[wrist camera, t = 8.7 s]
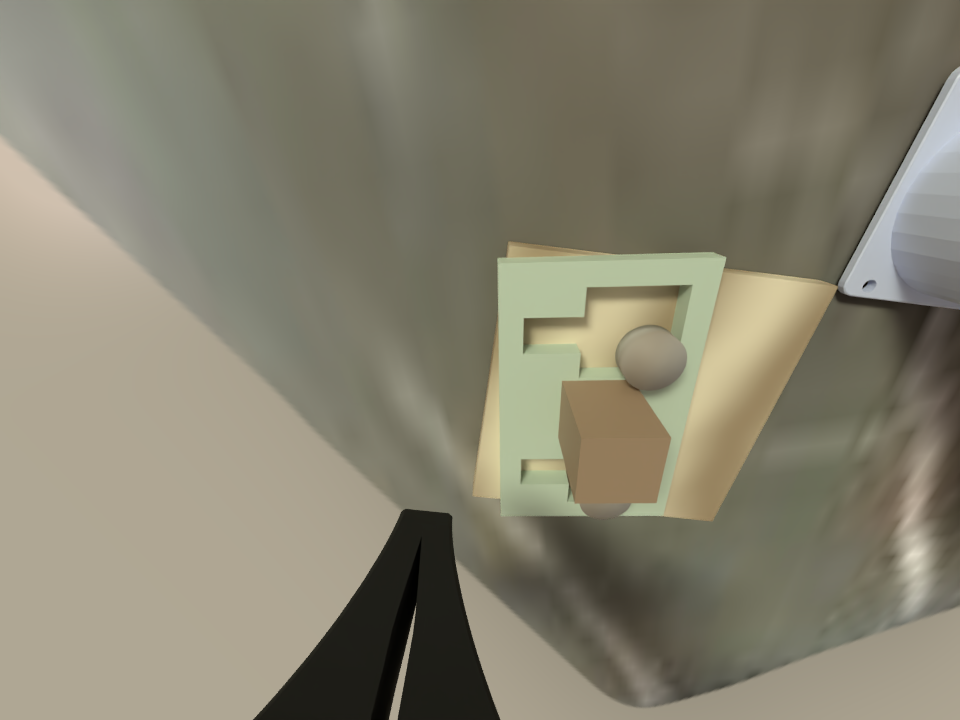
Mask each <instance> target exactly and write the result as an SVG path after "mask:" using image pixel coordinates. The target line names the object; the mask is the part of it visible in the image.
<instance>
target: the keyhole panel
mask: <svg viewBox="0 0 960 720" xmlns="http://www.w3.org/2000/svg"><path fill="white" fill-rule="evenodd" d="M725 261H726V257H724V256H721V255H719V254H716V253H713V252H700V253H663V254H626V255H589V256H553V257H516V258H498V338H499V423H500V504H501V516H587V515H586V514H585V513H584V512H583V511H582V509H581V507H580V504H596V503H631V505H630V507H629V508H628V510H627V511H626V512H624V513H623V514H621V515H620V516H663V515H664V511H665V507H666V502H667V498H668V494H669V490H670V486H671V482H672V478H673V474H674V470H675V466H676V462H677V457H678V453H679V449H680V445H681V441H682V437H683V433H684V429H685V425H686V421H687V416H688V412H689V408H690V404H691V400H692V396H693V392H694V388H695V384H696V380H697V376H698V371H699V367H700V363H701V359H702V355H703V351H704V347H705V343H706V339H707V335H708V331H709V326H710V322H711V318H712V314H713V310H714V306H715V302H716V298H717V294H718V290H719V285H720V281H721V277H722V273H723V269H724V265H725ZM663 285H680V288H679V293H678V298H677V303H676V308H675V313H674V318H673V323H672V328H671V334H673V335H674V336H675V337H676V338H677V339H678V340H679V341H680V342H681V343H682V344H683V345H684V347H685V349H686V352H687V363H686V367H685V369H684V371H683V373H682V374H681V375H680V377H679V378H678V379H677V380H676V381H674V382H673V383H672V384H670V385H668V386H666V387H664V388H662V389H658V390H652V391H646V390H640V389H637V388H635V387H633V386H632V385H631V384H629V383H628V381H627V380H626V379H625V377H624V376H623V374H622V372H621V371H620V369H619V368H618V367H594V368H580V357H581V353H580V350H579V348H578V346H577V344H527V345H523V326H524V318H556V317H584V313H585V302H586V291H587V287H621V286H663ZM521 459H564V463H565V467H566V470H525V471H521ZM566 471H567V474H566ZM567 475H568V478H567ZM568 479H569V483H570V488H569V483H568Z"/></svg>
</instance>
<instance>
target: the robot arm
mask: <svg viewBox="0 0 960 720" xmlns="http://www.w3.org/2000/svg"><path fill="white" fill-rule="evenodd" d="M867 281H868V284H867V285H866V287H865V288H863V285H864V284H865V283H866V282H867ZM862 288H863V289H862ZM838 290H839V291H840V292H841V293H843V294H846V295H849V296H854V297H862V298H870V299H878V300H886V301H894V302H902V303H910V304H918V305H926V306H934V307H943V308H951V309H959V310H960V67H958V68H957V69H956V70H955V71H953V72H952V73H951V75H950V76H949V78H948V79H947V81H946V82H945V84H944V86H943V88H942V90H941V92H940V94H939V96H938V97H937V99H936V101H935V103H934V105H933V107H932V109H931V110H930V112H929V114H928V116H927V118H926V120H925V122H924V124H923V125H922V127H921V129H920V131H919V133H918V135H917V137H916V139H915V140H914V142H913V144H912V146H911V148H910V150H909V152H908V153H907V155H906V157H905V159H904V161H903V163H902V165H901V167H900V168H899V170H898V172H897V174H896V176H895V178H894V180H893V182H892V183H891V185H890V187H889V189H888V191H887V193H886V195H885V196H884V198H883V200H882V202H881V204H880V206H879V208H878V210H877V211H876V213H875V215H874V217H873V219H872V221H871V223H870V224H869V226H868V228H867V230H866V232H865V234H864V236H863V238H862V239H861V241H860V243H859V245H858V247H857V249H856V251H855V253H854V254H853V256H852V258H851V260H850V262H849V264H848V266H847V267H846V269H845V271H844V273H843V275H842V277H841V279H840V281H839V283H838ZM416 602H417V603H416ZM415 606H416V614H415V623H414V631H413V637H412V642H411V648H410V654H409V659H408V665H407V671H406V676H405V682H404V687H403V693H402V698H401V704H400V710H399V715H398V720H500V718H499V715H498V713H497V710H496V707H495V705H494V702H493V700H492V696H491V693H490V691H489V688H488V685H487V682H486V679H485V676H484V673H483V670H482V667H481V664H480V661H479V657H478V655H477V651H476V648H475V645H474V641H473V638H472V634H471V630H470V627H469V623H468V619H467V615H466V611H465V607H464V603H463V599H462V594H461V589H460V584H459V580H458V574H457V569H456V563H455V556H454V548H453V538H452V516H451V515H450V514H449V513H440V512H430V511H420V510H411V509H405V510H403V511H402V512H401V514H400V517H399V519H398V521H397V523H396V525H395V527H394V529H393V531H392V533H391V535H390V537H389V539H388V541H387V543H386V545H385V546H384V548H383V550H382V551H381V553H380V555H379V556H378V558H377V560H376V561H375V563H374V565H373V566H372V568H371V569H370V571H369V573H368V574H367V576H366V578H365V579H364V581H363V582H362V584H361V585H360V587H359V588H358V590H357V591H356V593H355V594H354V596H353V597H352V598H351V600H350V601H349V603H348V604H347V606H346V607H345V608H344V610H343V612H342V613H341V614H340V616H339V617H338V618H337V620H336V621H335V622H334V624H333V625H332V626H331V628H330V629H329V630H328V632H327V633H326V634H325V636H324V637H323V638H322V639H321V641H320V642H319V643H318V645H317V646H316V647H315V649H314V650H313V651H312V652H311V653H310V655H309V656H308V657H307V658H306V660H305V661H304V662H303V663H302V664H301V666H300V667H299V668H298V669H297V670H296V672H295V673H294V674H293V675H292V676H291V678H290V679H289V680H288V681H287V682H286V683H285V685H284V686H283V687H282V688H281V689H280V690H279V692H278V693H277V694H276V695H275V696H274V697H273V698H272V700H271V701H270V702H269V703H268V704H267V705H266V706H265V708H263V710H262V711H261V712H260V713H259V714H258V715H257V716H256V717H255V718H254V719H253V720H389V716H390V711H391V707H392V702H393V697H394V693H395V688H396V684H397V680H398V676H399V672H400V668H401V664H402V660H403V656H404V652H405V648H406V644H407V639H408V635H409V631H410V627H411V623H412V619H413V615H414V611H415Z"/></svg>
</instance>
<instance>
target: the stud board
mask: <svg viewBox="0 0 960 720" xmlns="http://www.w3.org/2000/svg"><path fill="white" fill-rule="evenodd" d="M589 255H615V254H607V253H599V252H591V251H583V250H575V249H567V248H559V247H551V246H543V245H535V244H527V243H519V242H511V241H508V247H507V254H506V258H516V257H553V256H589ZM679 288H680V285H663V286H621V287H587V291H586V302H585V313H584V317H556V318H524V326H523V345H527V344H577V346H578V348H579V350H580V353H581V357H580V368H594V367H618V368H619V369H620V371H621V372H622V374H623V376H624V377H625V379H626V380H627V381H628V383H629V384H631V385H632V386H633V387H635V388H637V389H640V390H646V391H652V390H658V389H662V388H664V387H666V386H668V385H670V384H672V383H673V382H674V381H676V380H677V379H678V378H679V377H680V375H681V374H682V373H683V371H684V369H685V367H686V363H687V352H686V349H685V347H684V345H683V344H682V343H681V342H680V341H679V340H678V339H677V338H676V337H675V336H674V335H673V334H671V328H672V323H673V318H674V313H675V308H676V303H677V298H678V293H679ZM837 288H838V286H836V285H833V284H830V283H827V282H824V281H821V280H815V279H807V278H799V277H791V276H783V275H775V274H767V273H759V272H751V271H743V270H735V269H727V268H724V269H723V273H722V277H721V281H720V285H719V290H718V294H717V298H716V302H715V306H714V310H713V314H712V318H711V322H710V326H709V331H708V335H707V339H706V343H705V347H704V351H703V355H702V359H701V363H700V367H699V371H698V376H697V380H696V384H695V388H694V392H693V396H692V400H691V404H690V408H689V412H688V416H687V421H686V425H685V429H684V433H683V437H682V441H681V445H680V449H679V453H678V457H677V462H676V466H675V470H674V474H673V478H672V482H671V486H670V490H669V494H668V498H667V502H666V507H665V511H664V515H663V516H667V517H676V518H686V519H695V520H705V521H713V519H714V517H715V515H716V513H717V512H718V510H719V508H720V506H721V504H722V502H723V500H724V499H725V497H726V495H727V493H728V491H729V489H730V487H731V486H732V484H733V482H734V480H735V478H736V476H737V474H738V473H739V471H740V469H741V467H742V465H743V463H744V461H745V460H746V458H747V456H748V454H749V452H750V450H751V448H752V447H753V445H754V443H755V441H756V439H757V437H758V435H759V434H760V432H761V430H762V428H763V426H764V424H765V422H766V420H767V419H768V417H769V415H770V413H771V411H772V409H773V407H774V406H775V404H776V402H777V400H778V398H779V396H780V394H781V393H782V391H783V389H784V387H785V385H786V383H787V381H788V380H789V378H790V376H791V374H792V372H793V370H794V368H795V367H796V365H797V363H798V361H799V359H800V357H801V355H802V354H803V352H804V350H805V348H806V346H807V344H808V342H809V340H810V339H811V337H812V335H813V333H814V331H815V329H816V327H817V326H818V324H819V322H820V320H821V318H822V316H823V314H824V313H825V311H826V309H827V307H828V305H829V303H830V301H831V300H832V298H833V296H834V294H835V292H836V290H837ZM525 470H566V467H565V463H564V459H521V471H525ZM566 474H567V471H566ZM567 478H568V475H567ZM568 483H569V479H568ZM569 488H570V483H569ZM473 496H477V497H487V498H496V499H500V423H499V338H498V316H497V323H496V330H495V337H494V344H493V350H492V357H491V364H490V371H489V378H488V385H487V392H486V399H485V406H484V413H483V420H482V426H481V433H480V440H479V447H478V454H477V461H476V468H475V475H474V482H473ZM630 505H631V503H596V504H580V507H581V509H582V511H583V512H584V513H585V514H586V515H587V516H589V517H592V518H595V519H601V520H605V519H612V518H615V517H618V516H620V515H621V514H623V513H624V512H626V511H627V510H628V508H629V507H630Z"/></svg>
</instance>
